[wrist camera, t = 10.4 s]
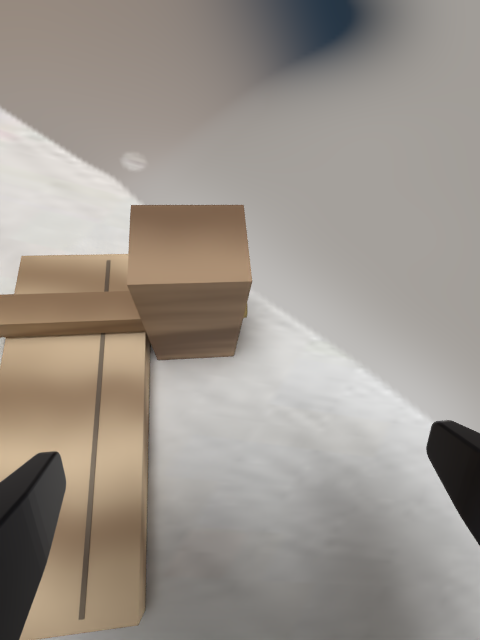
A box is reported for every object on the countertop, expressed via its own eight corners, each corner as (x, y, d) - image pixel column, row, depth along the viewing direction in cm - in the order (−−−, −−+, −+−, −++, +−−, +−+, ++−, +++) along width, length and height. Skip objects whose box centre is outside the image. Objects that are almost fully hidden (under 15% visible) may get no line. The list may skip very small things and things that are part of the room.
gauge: (243, 355, 24) (267, 281, 15) (1, 368, 22) (-143, 292, 13) (238, 302, 25) (257, 205, 16) (12, 310, 23) (-109, 205, 14)
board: (145, 609, 18) (138, 626, 16) (-27, 632, 17) (-56, 652, 15) (151, 269, 26) (147, 253, 24) (35, 272, 25) (21, 255, 23)
